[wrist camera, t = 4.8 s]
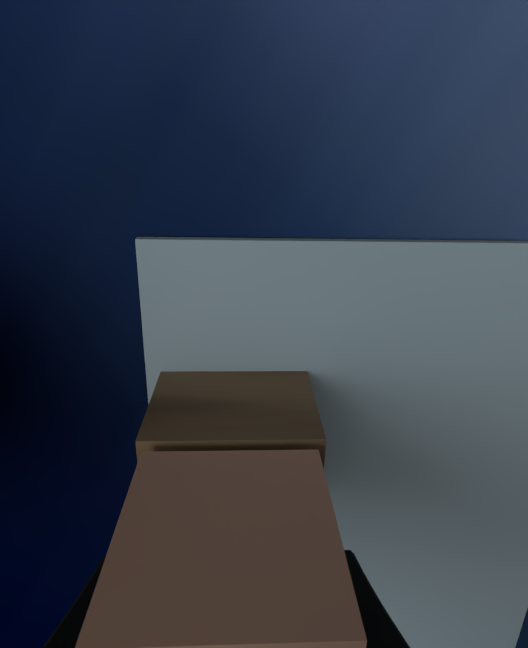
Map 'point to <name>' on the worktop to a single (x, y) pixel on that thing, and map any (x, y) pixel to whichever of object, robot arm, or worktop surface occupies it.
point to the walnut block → (232, 413)
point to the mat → (382, 399)
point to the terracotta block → (225, 557)
